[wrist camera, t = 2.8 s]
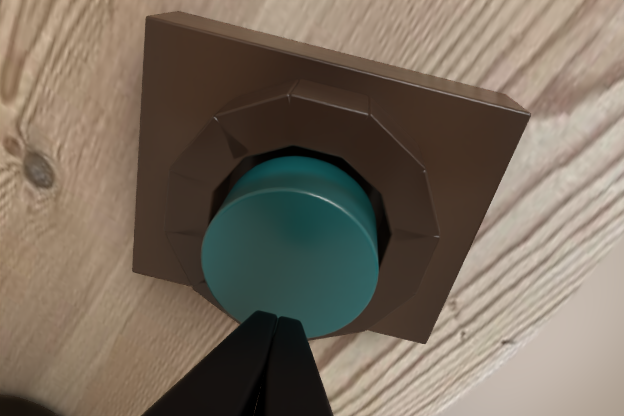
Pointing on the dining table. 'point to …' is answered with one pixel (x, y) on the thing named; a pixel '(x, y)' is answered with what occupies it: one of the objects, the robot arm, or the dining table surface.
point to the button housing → (316, 154)
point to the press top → (294, 245)
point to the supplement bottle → (21, 407)
